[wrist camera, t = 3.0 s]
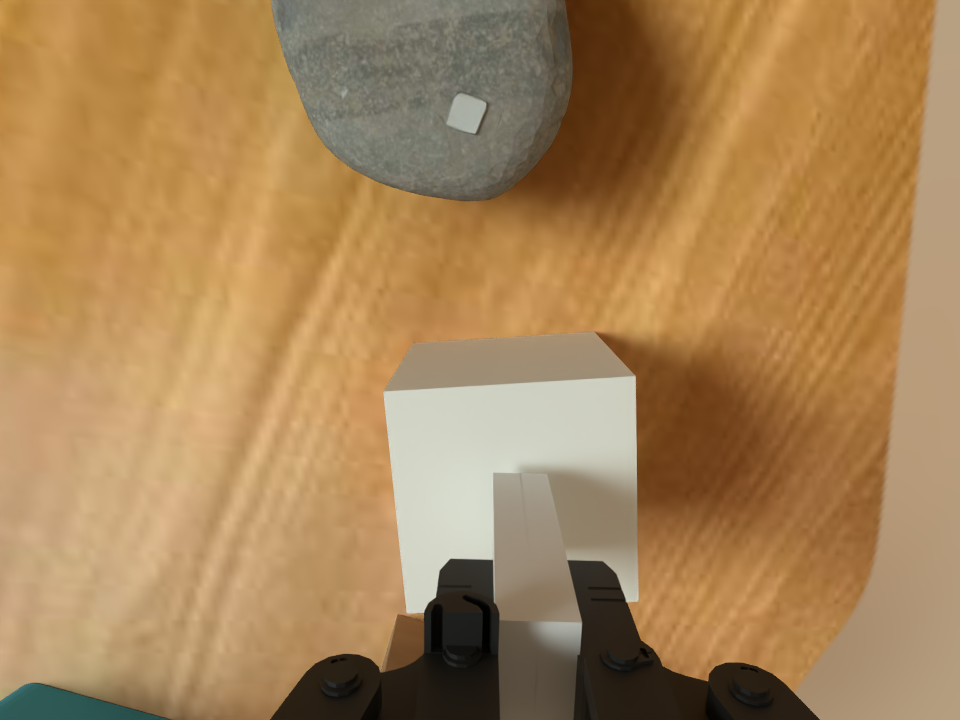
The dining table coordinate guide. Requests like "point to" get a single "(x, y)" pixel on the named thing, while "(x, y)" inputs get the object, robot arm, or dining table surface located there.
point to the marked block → (404, 643)
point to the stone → (432, 87)
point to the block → (62, 706)
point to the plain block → (512, 448)
